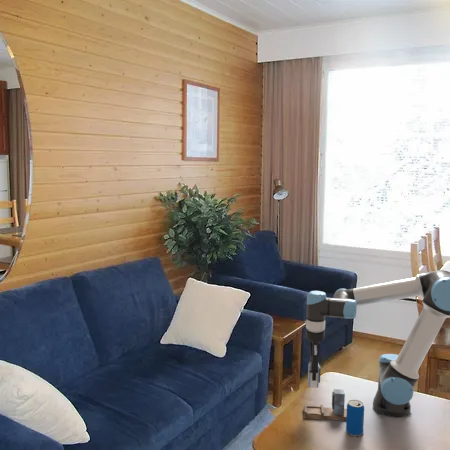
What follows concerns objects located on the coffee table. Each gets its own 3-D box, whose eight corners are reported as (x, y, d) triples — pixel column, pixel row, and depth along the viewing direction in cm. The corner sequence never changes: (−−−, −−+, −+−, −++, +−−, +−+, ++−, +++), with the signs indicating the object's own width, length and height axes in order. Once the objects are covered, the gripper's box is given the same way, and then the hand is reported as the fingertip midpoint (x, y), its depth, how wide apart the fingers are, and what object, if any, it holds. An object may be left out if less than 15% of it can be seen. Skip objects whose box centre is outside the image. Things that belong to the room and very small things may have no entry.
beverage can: (360, 438, 192) (361, 408, 191) (343, 434, 196) (344, 404, 194) (365, 431, 198) (366, 401, 196) (349, 426, 201) (350, 397, 199)
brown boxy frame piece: (347, 412, 212) (348, 388, 211) (349, 420, 205) (350, 396, 204) (303, 409, 214) (304, 385, 213) (304, 418, 207) (304, 393, 206)
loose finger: (308, 387, 207) (309, 366, 206) (307, 382, 211) (308, 362, 210) (319, 387, 207) (320, 366, 205) (319, 383, 210) (319, 362, 209)
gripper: (304, 322, 214) (303, 375, 218) (306, 336, 198) (304, 393, 201) (323, 323, 214) (320, 376, 217) (326, 337, 197) (324, 394, 200)
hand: (313, 384), depth 209 cm, fingers closed on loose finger, 4 cm apart
